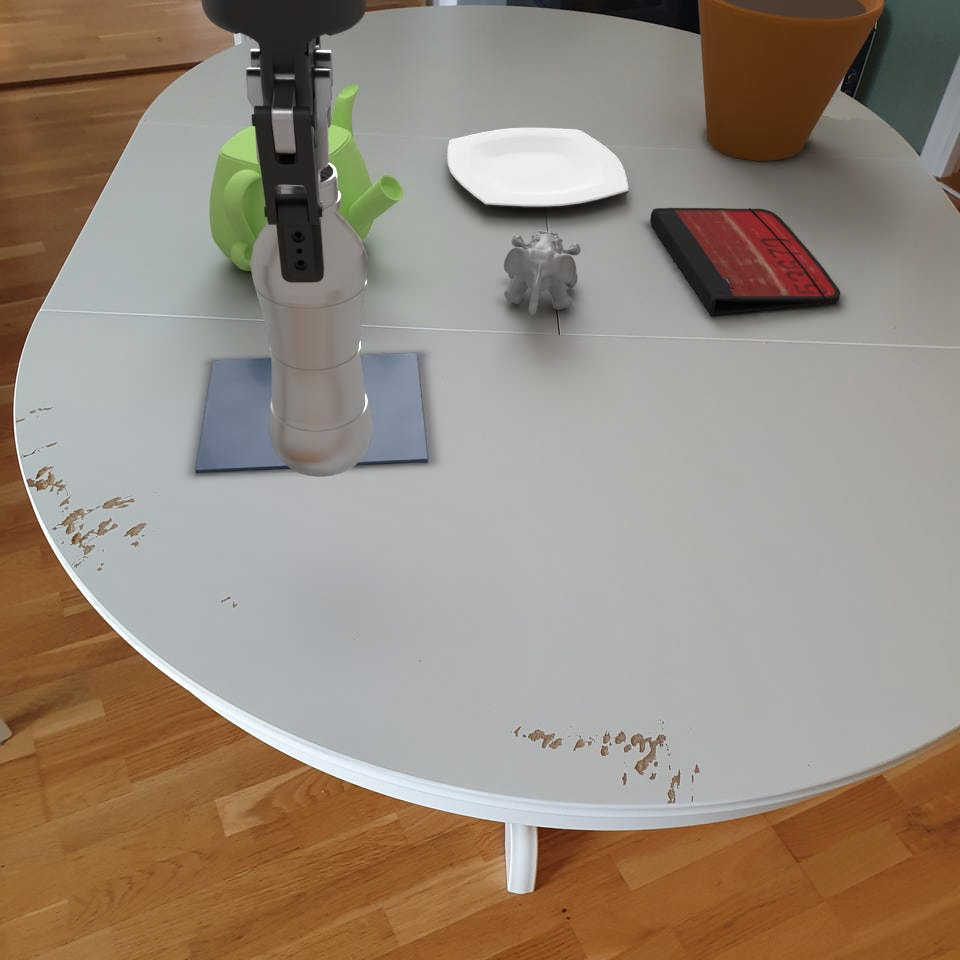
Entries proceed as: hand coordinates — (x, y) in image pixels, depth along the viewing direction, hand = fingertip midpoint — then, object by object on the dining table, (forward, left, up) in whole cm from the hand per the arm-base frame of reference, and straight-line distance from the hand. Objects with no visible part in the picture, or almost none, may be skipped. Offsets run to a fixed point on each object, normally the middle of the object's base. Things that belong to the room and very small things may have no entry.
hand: (305, 247), depth 52 cm
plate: (+26, +69, -29) cm, 79 cm away
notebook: (+47, +46, -29) cm, 72 cm away
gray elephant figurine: (+22, +38, -29) cm, 52 cm away
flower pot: (+60, +80, -29) cm, 104 cm away
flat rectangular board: (-2, +22, -29) cm, 36 cm away
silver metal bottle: (0, 0, -16) cm, 16 cm away
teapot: (-1, +50, -29) cm, 58 cm away
